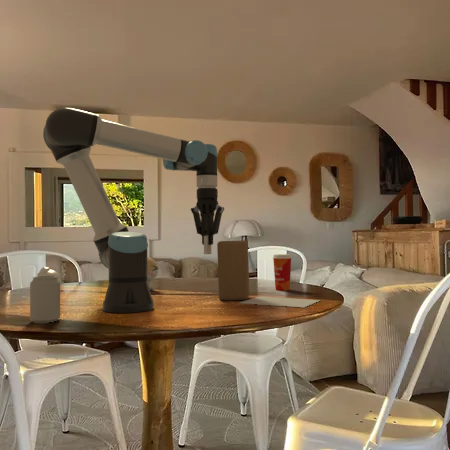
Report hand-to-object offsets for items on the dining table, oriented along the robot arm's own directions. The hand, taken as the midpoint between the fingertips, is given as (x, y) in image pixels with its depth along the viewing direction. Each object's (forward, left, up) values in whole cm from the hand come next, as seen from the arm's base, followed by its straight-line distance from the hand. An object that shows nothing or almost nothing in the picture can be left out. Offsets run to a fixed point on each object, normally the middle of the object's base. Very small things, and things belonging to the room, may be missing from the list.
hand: (207, 254), depth 169 cm
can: (-58, +15, -16) cm, 62 cm away
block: (0, -11, -16) cm, 19 cm away
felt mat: (0, -28, -15) cm, 32 cm away
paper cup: (+31, -16, -16) cm, 38 cm away
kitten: (+5, +32, -16) cm, 36 cm away
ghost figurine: (-14, +66, -16) cm, 70 cm away
